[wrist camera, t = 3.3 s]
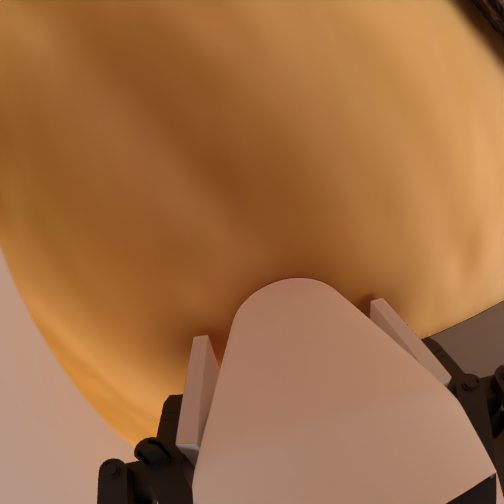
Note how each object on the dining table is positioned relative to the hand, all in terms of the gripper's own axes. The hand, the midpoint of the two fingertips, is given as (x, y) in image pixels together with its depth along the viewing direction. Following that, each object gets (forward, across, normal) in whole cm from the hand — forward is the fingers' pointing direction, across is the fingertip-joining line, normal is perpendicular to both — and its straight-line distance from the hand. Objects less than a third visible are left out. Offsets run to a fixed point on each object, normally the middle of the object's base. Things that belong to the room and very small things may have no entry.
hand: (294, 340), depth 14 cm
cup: (+1, 0, 0) cm, 1 cm away
